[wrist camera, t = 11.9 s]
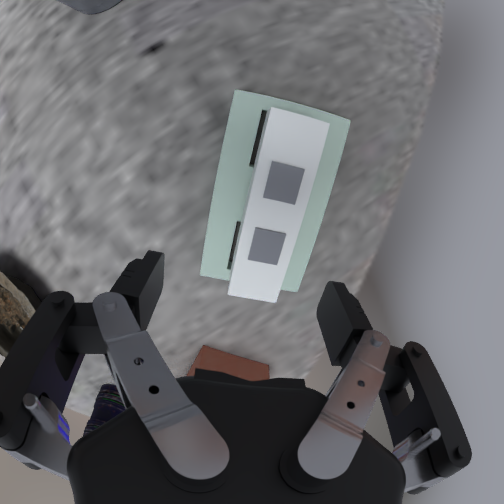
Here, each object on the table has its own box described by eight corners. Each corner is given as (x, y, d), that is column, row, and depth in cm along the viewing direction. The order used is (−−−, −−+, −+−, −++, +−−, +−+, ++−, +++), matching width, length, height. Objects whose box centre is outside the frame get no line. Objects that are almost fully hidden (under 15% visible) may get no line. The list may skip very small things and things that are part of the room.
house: (271, 363, 42) (276, 423, 32) (226, 414, 50) (223, 461, 40) (202, 341, 40) (192, 404, 29) (171, 399, 48) (162, 447, 37)
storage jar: (129, 412, 51) (115, 463, 38) (94, 390, 48) (74, 442, 35) (149, 402, 48) (135, 460, 35) (110, 378, 45) (88, 437, 32)
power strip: (265, 111, 26) (271, 106, 19) (311, 123, 26) (330, 123, 20) (230, 261, 33) (227, 295, 27) (270, 268, 34) (275, 304, 27)
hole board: (236, 91, 25) (235, 89, 23) (344, 120, 26) (350, 120, 24) (202, 266, 34) (199, 275, 32) (294, 283, 35) (297, 292, 33)
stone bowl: (40, 362, 45) (22, 387, 36) (-18, 274, 36) (-43, 293, 28) (97, 346, 40) (74, 382, 31) (19, 225, 32) (-18, 246, 23)
